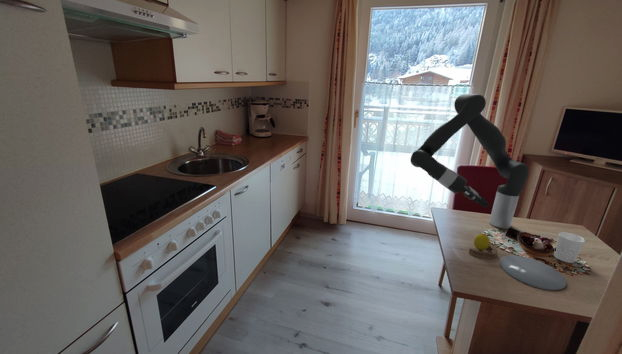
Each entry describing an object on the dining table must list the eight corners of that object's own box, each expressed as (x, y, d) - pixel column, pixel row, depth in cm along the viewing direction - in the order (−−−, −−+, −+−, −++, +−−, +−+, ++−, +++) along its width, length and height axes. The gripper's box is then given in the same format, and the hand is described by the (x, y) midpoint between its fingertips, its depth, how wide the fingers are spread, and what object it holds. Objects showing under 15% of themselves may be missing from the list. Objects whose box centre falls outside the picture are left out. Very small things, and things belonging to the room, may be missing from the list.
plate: (507, 251, 119) (507, 249, 119) (569, 274, 106) (570, 272, 105) (492, 269, 106) (493, 267, 106) (561, 298, 92) (562, 296, 92)
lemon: (472, 251, 118) (476, 234, 116) (472, 245, 123) (476, 229, 120) (487, 255, 116) (492, 238, 113) (486, 249, 120) (491, 232, 118)
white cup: (551, 250, 121) (558, 230, 118) (576, 258, 117) (584, 236, 114) (551, 258, 116) (559, 237, 113) (577, 266, 111) (586, 244, 108)
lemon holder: (478, 243, 124) (479, 239, 124) (498, 251, 119) (500, 247, 118) (468, 252, 117) (469, 248, 116) (490, 261, 111) (491, 257, 111)
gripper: (458, 175, 114) (495, 200, 110) (457, 171, 127) (490, 194, 122) (446, 190, 117) (482, 215, 112) (446, 185, 129) (478, 207, 125)
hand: (486, 204), depth 117 cm, fingers open, 8 cm apart
